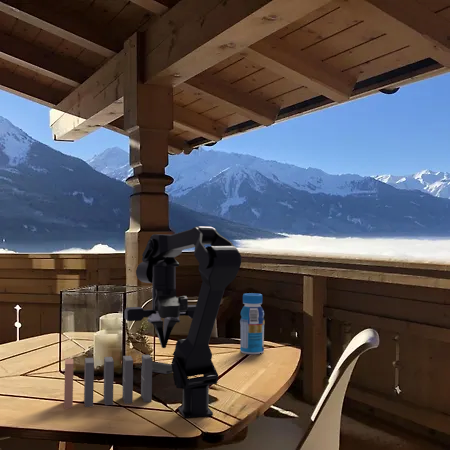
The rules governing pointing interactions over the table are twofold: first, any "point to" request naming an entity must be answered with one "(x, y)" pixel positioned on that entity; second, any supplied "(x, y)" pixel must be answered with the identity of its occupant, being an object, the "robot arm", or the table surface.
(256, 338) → the beverage bottle
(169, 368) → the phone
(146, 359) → the domino
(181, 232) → the robot arm
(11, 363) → the table surface
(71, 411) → the table surface
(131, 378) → the domino
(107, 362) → the domino
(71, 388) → the domino
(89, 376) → the domino
